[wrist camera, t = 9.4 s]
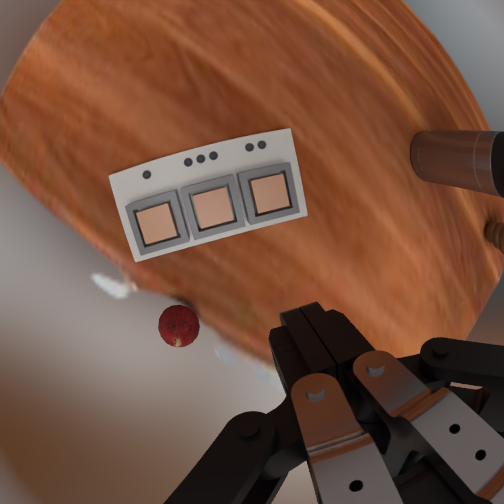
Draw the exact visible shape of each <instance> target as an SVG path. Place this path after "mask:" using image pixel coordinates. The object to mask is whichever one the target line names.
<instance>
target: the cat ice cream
mask: <svg viewBox="0 0 504 504" xmlns="http://www.w3.org/2000/svg"><path fill="white" fill-rule="evenodd" d="M486 237H487V239H488V240H489V241H490V242H491V243H493V244H494V246H495V247H496V248H497V249H499V250H500V251H501V252H502V253H503V254H504V223H502V222H500V223H497V224H496V223H490V224H489V225H488V226H487V227H486Z"/></svg>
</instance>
